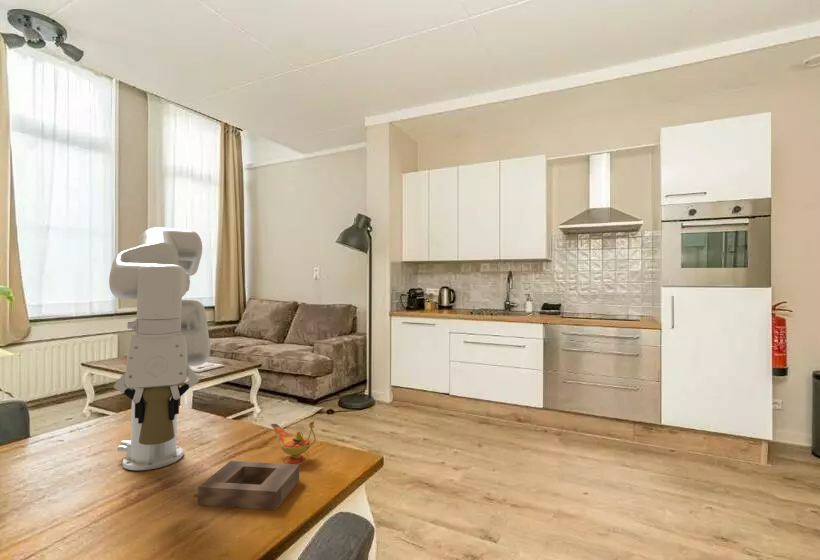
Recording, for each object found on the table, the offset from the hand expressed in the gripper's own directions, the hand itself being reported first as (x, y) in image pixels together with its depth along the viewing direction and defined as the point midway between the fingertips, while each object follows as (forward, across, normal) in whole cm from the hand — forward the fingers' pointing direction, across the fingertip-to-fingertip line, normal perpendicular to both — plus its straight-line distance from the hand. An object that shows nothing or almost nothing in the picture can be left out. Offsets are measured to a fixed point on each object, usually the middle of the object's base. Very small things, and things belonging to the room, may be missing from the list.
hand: (157, 418), depth 81 cm
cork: (+4, 0, 0) cm, 4 cm away
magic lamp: (+17, +28, +11) cm, 34 cm away
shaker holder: (+16, +18, -3) cm, 24 cm away
